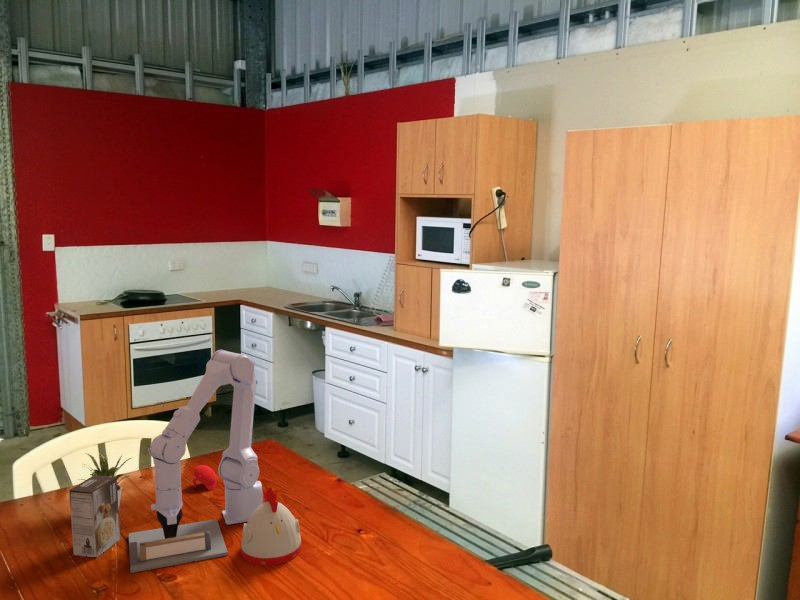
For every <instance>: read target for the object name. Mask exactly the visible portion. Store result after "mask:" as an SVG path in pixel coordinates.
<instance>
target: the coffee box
mask: <svg viewBox="0 0 800 600" xmlns="http://www.w3.org/2000/svg"><path fill="white" fill-rule="evenodd" d="M117 483H118V479H117V477H116V476H114V477H108V476H95V475H94V476H90V477H89V478H87V479H84V480H83V481H82V482H80V483H79V484H76V485H75V486H74V487H72V488H69V490H68V491H69V504H70V505H69V507H70V518H71V523H70V524H71V533H72V551H73V555H74V556H80V557H86V556H87V557H88V558H94V557H97V558H98V557H100V556H101V555H102V554H104V553H103V552H106V551H108V550H109V549H110V548H111V547H112V546H114V545H115V544H117V543H118V542H119V541H121V534H120V533H121V530H120V529H121V528H120V514H119V510H120V509H119V510H118V493H117Z"/></svg>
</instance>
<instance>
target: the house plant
mask: <svg viewBox="0 0 800 600" xmlns="http://www.w3.org/2000/svg"><path fill="white" fill-rule="evenodd" d="M110 453H111V452H109V454H108V456H107V457H105V456H104V455H103V454H101V453H100V452H98V457H99V465H98V463H97V461H96V459H95V457H94V456H93V455H91V454H90V453H86V452H84V454H86V455H88V457H89V458H90V459H91V461H92V462H93V464H94V466H95V468H96V469H95V468H94V469H93V468H92V466H89V468H90V469H89V468H88V467H87V469H88V470H90V472H91V473H90V474H89V475H90V477H92V476H94V475H95V476H108V477H117V480H118V481H117V493H118V510H120V502H121V494H122V485H120V484H119V483H120V482H121V481H122V480H124V479H125V478H130V476H129V475H126V474H125V473H119V474H117V472H118V471H119V470H120V469H121V468H122V466H124V465H125V464H126V463H127V461H129V460H132V459H133V458H134V457H129V458H127V459H126V460H125V461H123V463H122V464H121V465H119V463H120V461H121V460H122V459H121V458H122V456H123V454H121V456H120V457H119V458H118V460H117V462H116V464H115V466H111V467H110V468H109V464H108V463H109V462H108V460H109V456H110ZM83 465H84V466H83V467H85V466H86V464H84V463H83ZM118 466H119V467H118ZM85 468H86V467H85ZM116 474H117V475H116ZM123 476H124V477H123ZM120 477H122V478H121V479H120V480H119V478H120ZM77 480H79V481H82V480H83V481H85V479H82V478H79V479H78V478H77Z"/></svg>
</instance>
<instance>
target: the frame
mask: <svg viewBox="0 0 800 600" xmlns="http://www.w3.org/2000/svg"><path fill="white" fill-rule="evenodd" d="M203 532H204V534H205V549H203V550H198V551H192V552H186V553H181V554H175V555H170V556H164V557H158V558H153V559H147V560H144V561H141V559H140V543H144V542H150V541H155V540H161V539H165V537H164V532H163V528H162V527H159V528H155V529H148V530H142V531H135V532H131V533H130V532H129V533H128V546H129V547H128V548H129V550H128V551H129V567H130V570H129V571H130V574H132V573H137V572H138V573H139V572H143V571H144V572H145V571H149V570H153V569H154V570H155V569H160V568H166V567H172V566H177V565H182V564H188V563H194V562H198V561H204V560H210V559H215V558H219V557H224V556H225V557H226V556H229V555H228V554H229V553H228V552H229V551H228V549H227V546H226V542H225V541H224V540H225V539H224V537H223V534H222V531H221V528H220V525H219V521H218V519H216V518H215V519H209V520H204V521H196V522H191V523H185V524H179V525H178V529H177V535H176V537H179V536H185V535H191V534H197V533H203ZM193 561H194V562H193Z"/></svg>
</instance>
